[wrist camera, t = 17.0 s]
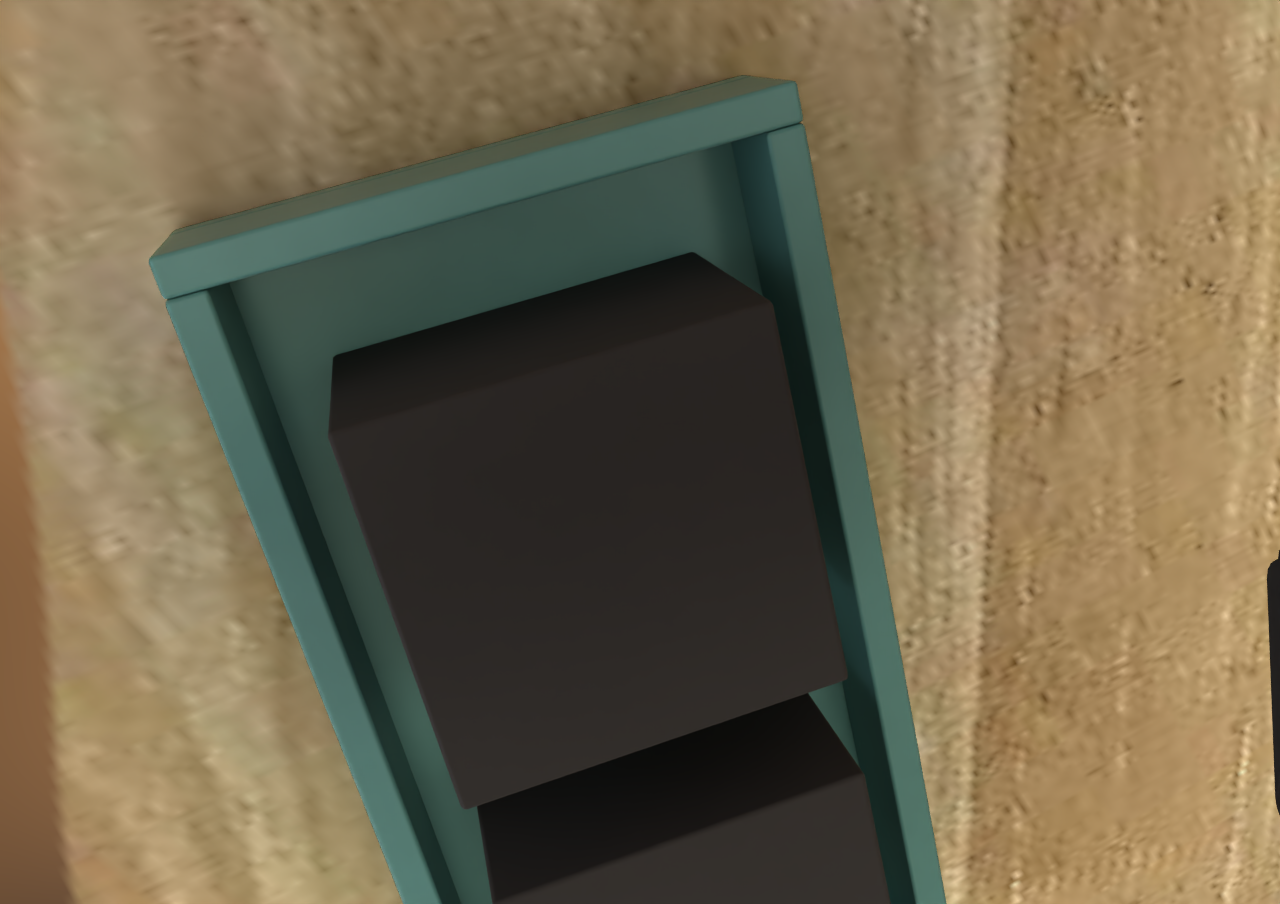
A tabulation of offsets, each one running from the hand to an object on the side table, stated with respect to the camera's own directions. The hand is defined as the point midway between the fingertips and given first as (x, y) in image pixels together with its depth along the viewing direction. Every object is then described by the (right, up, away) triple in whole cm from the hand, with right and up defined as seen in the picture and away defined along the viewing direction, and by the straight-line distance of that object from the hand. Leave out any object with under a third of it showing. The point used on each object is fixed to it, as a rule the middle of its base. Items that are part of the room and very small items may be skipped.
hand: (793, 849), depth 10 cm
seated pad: (-1, -4, +13) cm, 13 cm away
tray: (-2, 0, +12) cm, 12 cm away
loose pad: (-3, +3, +10) cm, 11 cm away
